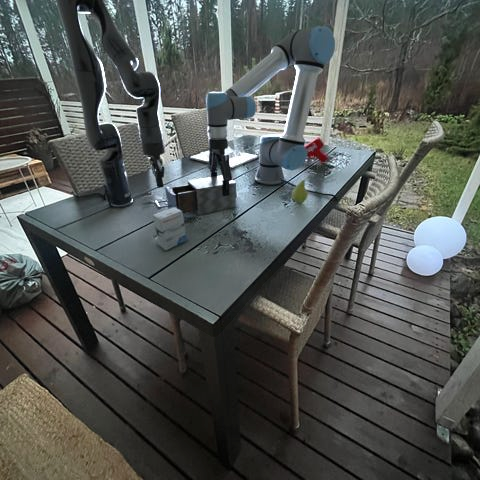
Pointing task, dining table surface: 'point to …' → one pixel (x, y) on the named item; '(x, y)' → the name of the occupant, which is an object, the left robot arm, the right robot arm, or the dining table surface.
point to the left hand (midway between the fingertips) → (160, 186)
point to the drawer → (180, 199)
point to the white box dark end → (213, 194)
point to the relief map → (234, 157)
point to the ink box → (170, 228)
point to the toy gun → (316, 150)
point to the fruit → (300, 192)
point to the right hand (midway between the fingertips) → (220, 190)
